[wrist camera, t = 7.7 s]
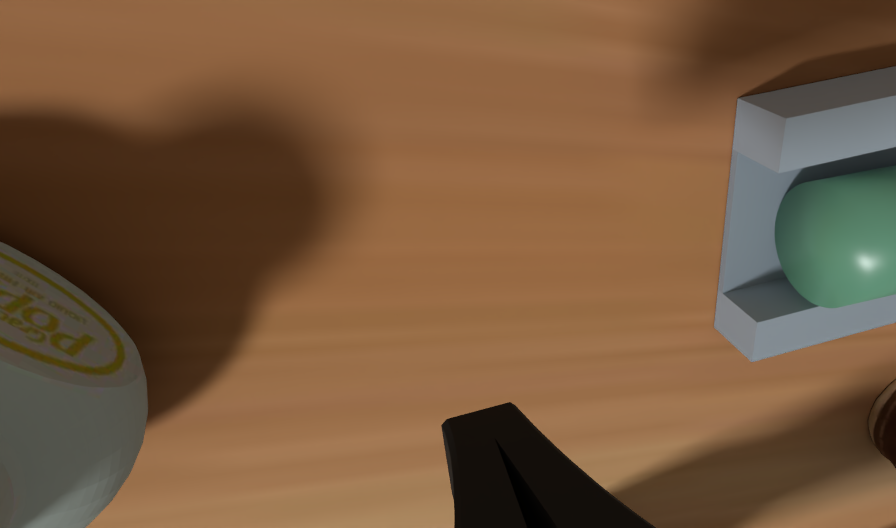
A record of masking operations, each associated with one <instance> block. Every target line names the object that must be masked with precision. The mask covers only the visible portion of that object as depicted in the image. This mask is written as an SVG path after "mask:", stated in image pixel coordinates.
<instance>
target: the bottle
mask: <svg viewBox="0 0 896 528" xmlns="http://www.w3.org/2000/svg"><path fill="white" fill-rule="evenodd" d="M775 245H776V250H777V255H778V258H779V261H780V264H781V266H782V269H783V271H784V273H785V275H786V277H787V278H788V280H789V281H790V283H791V284H792V286H793V287H794V288H795V289H796V290H797V291H798V293H799V294H800V295H802V296H803V297H804V298H805V299H807V300H808V301H810V302H811V303H813V304H815V305H818V306H821V307H824V308H839V307H843V306H847V305H851V304H856V303H860V302H864V301H869V300H873V299H877V298H882V297H886V296H890V295H895V294H896V165H894V166H888V167H883V168H878V169H872V170H867V171H862V172H857V173H851V174H846V175H841V176H836V177H830V178H825V179H820V180H814V181H809V182H805V183H802V184H799V185H797V186H795V187H794V188H793V189H791V190H790V191H789V192H788V193H787V194H786V196H785V197H784V199H783V200H782V202H781V204H780V206H779V209H778V212H777V216H776V221H775Z"/></svg>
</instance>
